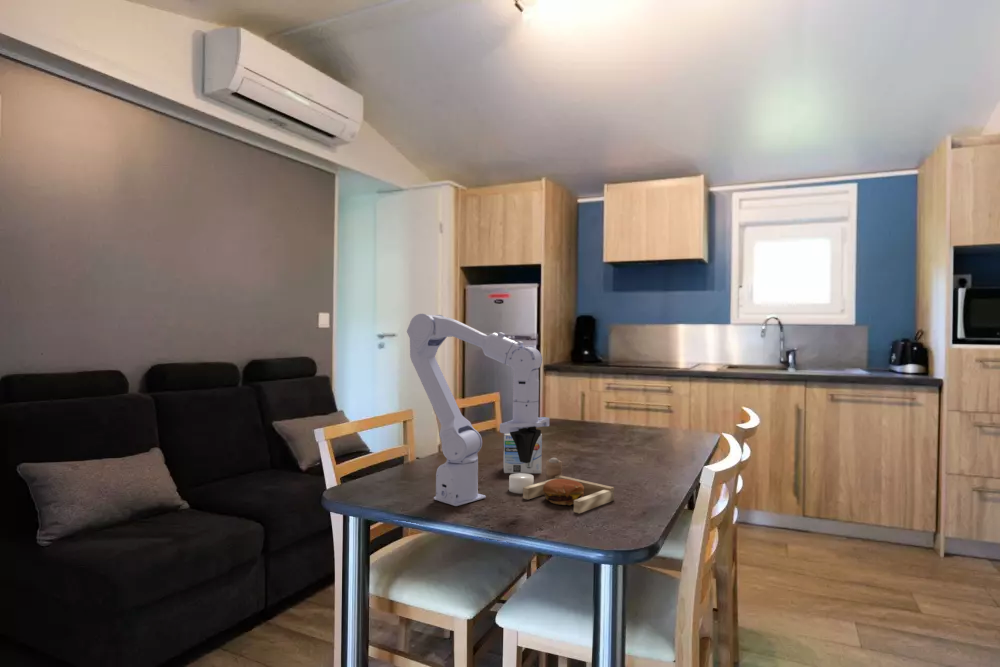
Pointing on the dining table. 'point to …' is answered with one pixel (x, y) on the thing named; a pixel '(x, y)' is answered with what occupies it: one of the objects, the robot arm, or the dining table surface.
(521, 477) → the white dome
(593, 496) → the bay
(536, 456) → the light bulb box
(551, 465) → the pepper mill
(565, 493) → the burger
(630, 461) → the dining table surface
